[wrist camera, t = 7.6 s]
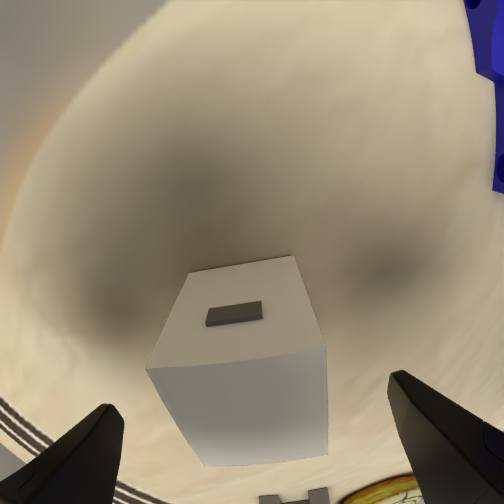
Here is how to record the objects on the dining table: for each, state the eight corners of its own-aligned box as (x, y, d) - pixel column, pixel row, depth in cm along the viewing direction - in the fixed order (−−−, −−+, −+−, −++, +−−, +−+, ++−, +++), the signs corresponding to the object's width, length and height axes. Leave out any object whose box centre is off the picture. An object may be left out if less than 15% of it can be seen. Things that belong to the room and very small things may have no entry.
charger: (293, 251, 12) (325, 342, 6) (309, 395, 15) (326, 485, 9) (188, 269, 12) (142, 363, 6) (232, 405, 15) (226, 496, 9)
